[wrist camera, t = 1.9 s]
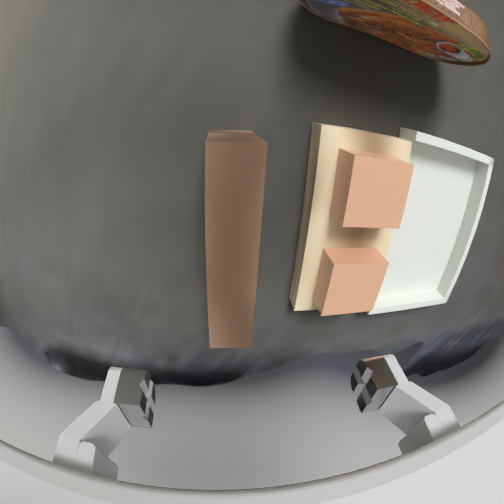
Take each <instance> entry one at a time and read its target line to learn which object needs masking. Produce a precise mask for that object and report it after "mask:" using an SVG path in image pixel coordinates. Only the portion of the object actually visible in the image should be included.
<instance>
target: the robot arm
mask: <svg viewBox="0 0 504 504" xmlns="http://www.w3.org/2000/svg"><path fill="white" fill-rule="evenodd" d="M356 366H357V368H358V369H356V370H355V371H354V372H353V373H352V376H351V387H352V390H353V393H355V394H356V395H357V396H358V398H357V404H358V406H359V409H360V411H361V413H365V412H369V411H374V410H378V409H379V411H380V412H381V413H382V414H383V415H384V416H385V417H386V418H388V419H389V420H390V421H391V422H392V423H393V424H394V425H396V426H397V427H398V428H399V429H400V430H401V431H402V432H404V433H405V434H406V436H405V437H404V438H403V439H402V440H400V442H399V444H398V445H399V447H400V450H401V452H402V455H400V456H398V457H395V458H393V459H390V460H387V461H384V462H381V463H378V464H375V465H372V466H369V467H366V468H363V469H359V470H356V471H353V472H349V473H345V474H341V475H337V476H332V477H328V478H324V479H319V480H314V481H309V482H303V483H297V484H290V485H284V486H276V487H266V488H254V489H238V490H193V489H175V488H165V487H156V486H148V485H141V484H134V483H128V482H123V481H118V480H117V473H118V467H117V466H116V464H114V463H113V462H112V461H111V460H110V459H109V458H108V455H109V454H110V453H111V452H112V451H113V449H114V448H115V447H116V445H117V444H118V443H119V442H120V441H121V440H122V438H123V437H124V436H125V435H126V433H127V432H128V431H129V430H130V428H131V426H135V427H147V428H152V422H153V412H152V409H151V407H152V406H153V405H154V404H155V386H154V383H153V382H152V381H151V380H150V377H151V375H150V372H149V370H138V369H128V368H120V367H110V369H109V370H108V374H107V377H106V381H105V384H104V388H103V392H102V395H101V399H100V401H96V402H95V403H93V404H92V405H91V406H90V407H89V408H88V409H87V410H86V411H85V412H83V413H82V414H81V415H80V416H79V417H78V418H77V419H76V420H74V421H73V422H72V423H71V424H70V425H69V426H68V427H67V428H66V429H65V430H63V431H62V432H61V433H60V435H59V438H58V442H57V446H56V450H55V455H54V459H53V462H50V461H47V460H45V459H42V458H40V457H37V456H34V455H32V454H30V453H27V452H25V451H23V450H20V449H18V448H16V447H14V446H12V445H10V444H8V443H6V442H4V441H2V440H0V504H504V401H502V402H500V403H499V404H497V405H496V406H495V407H493V408H492V409H490V410H489V411H487V412H485V413H484V414H483V415H481V416H479V417H477V418H476V419H474V420H472V421H471V422H469V423H467V424H466V425H464V426H462V427H460V426H459V424H458V422H457V420H456V418H455V416H454V414H453V412H452V410H451V409H450V406H449V405H447V404H446V403H444V402H443V401H441V400H439V399H438V398H436V397H434V396H433V395H431V394H430V393H428V392H427V391H425V390H424V389H422V388H421V387H419V386H418V385H416V384H414V383H413V382H408V380H407V378H406V376H405V374H404V373H403V371H402V369H401V367H400V365H399V364H398V362H397V360H396V358H395V357H394V355H392V354H388V355H384V356H377V357H372V358H367V359H362V360H360V361H359V362H358V363H357V365H356Z"/></svg>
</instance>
